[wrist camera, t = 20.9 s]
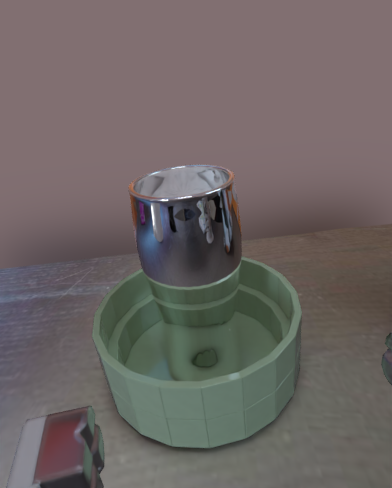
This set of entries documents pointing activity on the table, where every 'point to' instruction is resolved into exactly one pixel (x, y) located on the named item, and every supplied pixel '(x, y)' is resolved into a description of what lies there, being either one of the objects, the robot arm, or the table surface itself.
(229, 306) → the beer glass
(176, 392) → the green pan
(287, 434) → the table surface
